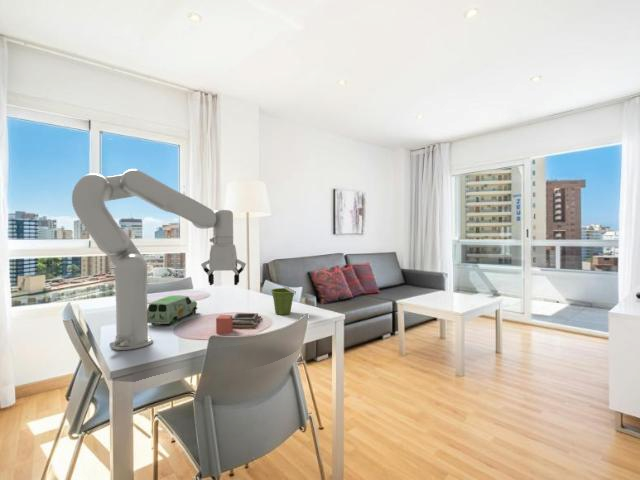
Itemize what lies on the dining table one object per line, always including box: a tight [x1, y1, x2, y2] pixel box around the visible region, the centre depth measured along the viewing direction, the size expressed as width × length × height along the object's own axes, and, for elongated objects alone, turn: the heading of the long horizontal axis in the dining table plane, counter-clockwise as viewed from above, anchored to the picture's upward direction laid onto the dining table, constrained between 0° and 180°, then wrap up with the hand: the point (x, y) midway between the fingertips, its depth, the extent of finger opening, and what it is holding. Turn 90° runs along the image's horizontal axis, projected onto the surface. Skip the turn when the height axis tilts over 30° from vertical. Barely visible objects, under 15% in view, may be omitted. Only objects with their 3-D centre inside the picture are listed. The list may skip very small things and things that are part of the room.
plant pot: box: [270, 287, 295, 316], centre depth 160 cm, size 12×12×11 cm
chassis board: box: [232, 312, 262, 330], centre depth 143 cm, size 16×12×3 cm
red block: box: [215, 314, 234, 334], centre depth 131 cm, size 5×5×6 cm
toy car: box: [147, 294, 198, 326], centre depth 149 cm, size 11×25×10 cm, turn 173°
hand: (223, 284), depth 131 cm, fingers open, 9 cm apart
